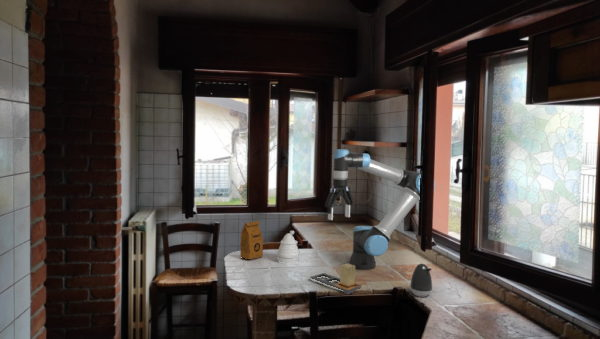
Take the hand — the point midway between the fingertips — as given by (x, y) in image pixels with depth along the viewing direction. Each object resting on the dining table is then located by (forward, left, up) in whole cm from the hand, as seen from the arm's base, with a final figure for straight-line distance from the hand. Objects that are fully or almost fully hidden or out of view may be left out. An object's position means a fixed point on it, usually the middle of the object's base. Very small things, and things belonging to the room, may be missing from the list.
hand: (339, 218), depth 246 cm
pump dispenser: (-9, +46, -31) cm, 56 cm away
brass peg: (+13, +18, -31) cm, 38 cm away
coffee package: (+17, -53, -31) cm, 64 cm away
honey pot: (+4, -35, -31) cm, 47 cm away
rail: (+13, +10, -31) cm, 35 cm away
